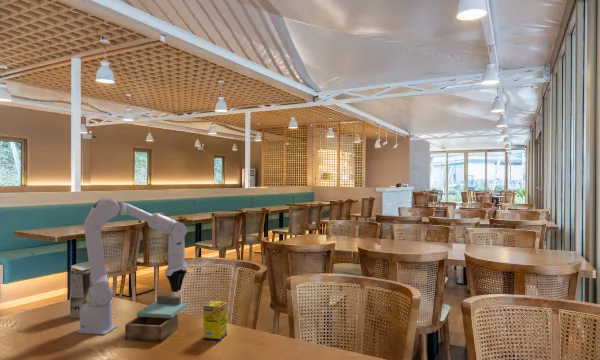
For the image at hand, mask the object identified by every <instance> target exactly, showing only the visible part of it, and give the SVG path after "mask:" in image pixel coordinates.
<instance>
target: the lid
mask: <svg viewBox="0 0 600 360" xmlns="http://www.w3.org/2000/svg"><path fill="white" fill-rule="evenodd" d="M156 299H157V301H154V302H152V303H150V304H148V305H147V306H145V307H144V308H142V309H141V310H139V311H138V312H136V317H138V316H140V317H157V318H172V317H174V316H175V315H176V314H179V313H181V312H182V311H183V310H184V309H185V308H187V303H181V302H182V301H181V299H182V298H181V296H171V295H158V296H157V297H156Z"/></svg>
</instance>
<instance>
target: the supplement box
mask: <svg viewBox="0 0 600 360" xmlns="http://www.w3.org/2000/svg"><path fill="white" fill-rule="evenodd" d="M202 324H203V329H202V330H203V331H202V332H203V334H202V335H203V337H202V338H203V341H213V342H214V341H215V342H221V341H223V339H224V338H225V337H226V336H227V335H228V301H222V300H221V301H220V300H219V301H218V300H210V301H209V302H208V303H206V304H204V305H203V323H202Z"/></svg>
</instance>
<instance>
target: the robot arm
mask: <svg viewBox="0 0 600 360" xmlns="http://www.w3.org/2000/svg"><path fill="white" fill-rule="evenodd" d="M117 215H119V216H127V215H128V216H131V217H133V218H136V219H138V220H142V221H144V222H146V223H147V225H148V227H149V228H151V229H153V230H156V231H158V232H161V233H163V234H167V235H168V243H167V244H168V246H167V247H168V254H167V255H168V257H167V258H168V259H167V261H168V262H167V263H168V266H167V267H166V269H165V270H164V277H166V278H167V280H168V282H169V284H170V289H171V292H172V293H178V292H179V291H181V290H182V285H183V283H184V282H183V281H184V278H185V277H186V274H187V269H188V262H186V261H185V249H186V248H185V247H186V245H185V236H186V235H187V234H188V229H187V227H186V225H185V224H184V223H183V222H180V221H177V220H176V218H174V217H172V218H171V217H168V216H166V215H165V213H164V212H154V213H150V212H148V211H145V210H143V209H140V208H138V207H136V206H134V205H132V204H130V203H129V202H127V203H126V202H124V201H121V200H115V199H112V198H109V197H102V198H100V199H98V200H97V201H96V202H95V203H94V204H93V205H92V206H91V210H89V213H88V214H87V216H86V218H85V221H84V223H83V226H84V227H83V228H84V237H85V244H86V251H87V259H88V265H89V269H90V275H91V277H90V287H89V291H88V292H89V295H90V296H91V298H92V299H91V300H90V302H89V303H85V304H84V305H83V306H82V308H81V310H80V318H79V330H78V332H77V333H78V334H89V335H90V334H91V335H106V334H108V333H109V332H111V331H112V330H115V328H118V324H113V298H114V291H113V289H112V288H111V287H110V284H109V279H108V275H107V268H106V261H105V260H106V259H105V254H104V247H103V237H102V231H101V230H102V227H103V226H104V225H105V224H106V223H107V222H108V221H110V220H112V219H113V218H114V219H115V217H116V216H117Z"/></svg>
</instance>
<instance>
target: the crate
mask: <svg viewBox="0 0 600 360" xmlns="http://www.w3.org/2000/svg"><path fill="white" fill-rule="evenodd" d="M178 314H179V313H178ZM178 314H176V315H175V316H174V317H172V318H157V317H140V316H136V317H135V318H133V319H132V320H130V321H129V322H127V323H126V324H125V327H124V328H125V331H124V332H125V333H124V340H125V341H128V342H142V343H143V342H144V343H158V344H159V343H161V344H162V343H163V342H164V341H165V340H166V339H168V338H169V337H171V335H172V334H173V333H175V332H176V331H177V330H178V329H179V326H178V325H179V315H178Z"/></svg>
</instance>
